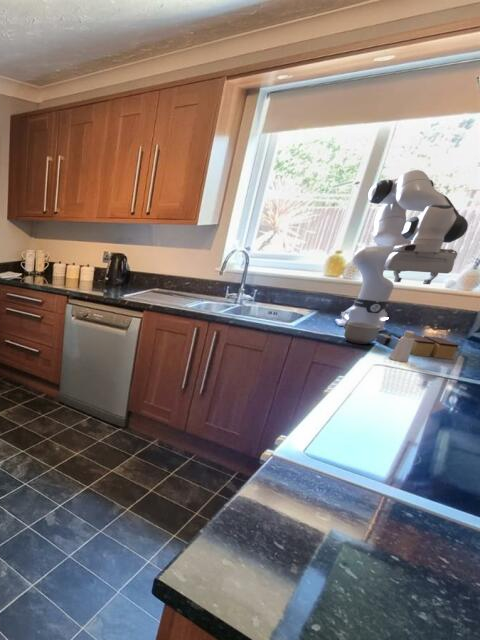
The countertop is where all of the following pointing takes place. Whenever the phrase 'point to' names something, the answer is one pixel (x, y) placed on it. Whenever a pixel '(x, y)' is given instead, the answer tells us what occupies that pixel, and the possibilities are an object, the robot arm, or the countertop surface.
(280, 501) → the countertop surface
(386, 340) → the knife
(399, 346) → the pepper shaker
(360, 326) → the teacup
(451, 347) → the two-panel tan box
